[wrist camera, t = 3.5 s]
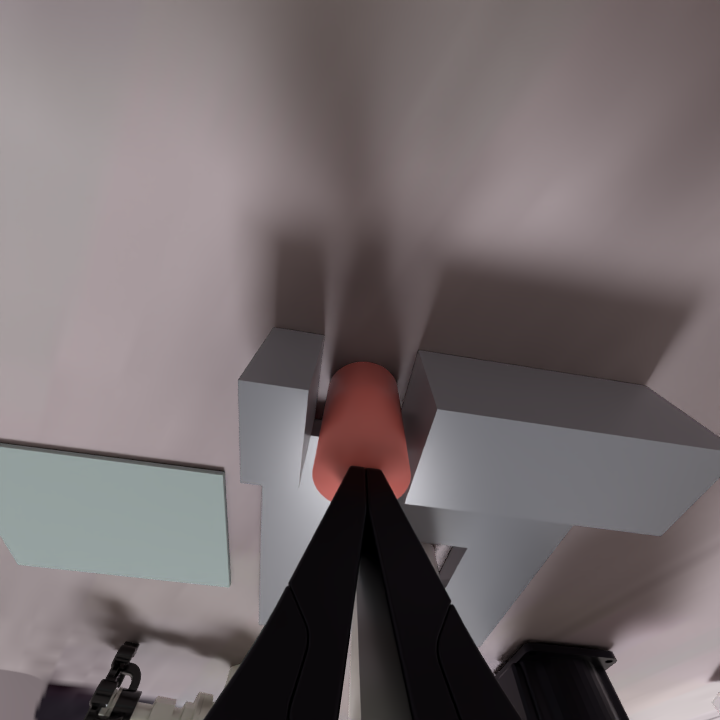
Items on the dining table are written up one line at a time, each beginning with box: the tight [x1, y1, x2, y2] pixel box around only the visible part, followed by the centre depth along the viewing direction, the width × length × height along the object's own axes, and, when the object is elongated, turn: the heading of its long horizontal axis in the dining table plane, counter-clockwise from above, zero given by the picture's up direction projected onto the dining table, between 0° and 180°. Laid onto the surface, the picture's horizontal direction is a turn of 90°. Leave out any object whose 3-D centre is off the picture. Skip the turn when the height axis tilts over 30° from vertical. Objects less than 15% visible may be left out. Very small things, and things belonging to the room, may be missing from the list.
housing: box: [238, 327, 720, 647], centre depth 15 cm, size 14×19×4 cm
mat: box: [0, 443, 231, 587], centre depth 16 cm, size 12×10×1 cm
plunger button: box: [312, 362, 411, 501], centre depth 10 cm, size 3×3×4 cm
